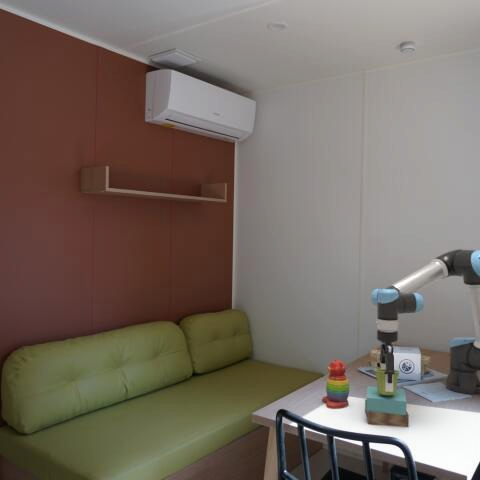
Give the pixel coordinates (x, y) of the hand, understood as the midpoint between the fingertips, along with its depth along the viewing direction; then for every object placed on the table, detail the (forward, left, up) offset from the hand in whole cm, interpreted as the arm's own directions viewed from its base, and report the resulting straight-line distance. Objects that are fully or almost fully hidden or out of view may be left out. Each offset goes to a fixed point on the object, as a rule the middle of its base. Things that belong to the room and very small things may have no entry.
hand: (386, 385), depth 188 cm
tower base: (0, +1, -13) cm, 13 cm away
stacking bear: (+18, -12, -12) cm, 25 cm away
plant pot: (0, +3, -2) cm, 4 cm away
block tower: (-16, -70, -13) cm, 73 cm away
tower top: (0, +1, -8) cm, 8 cm away
